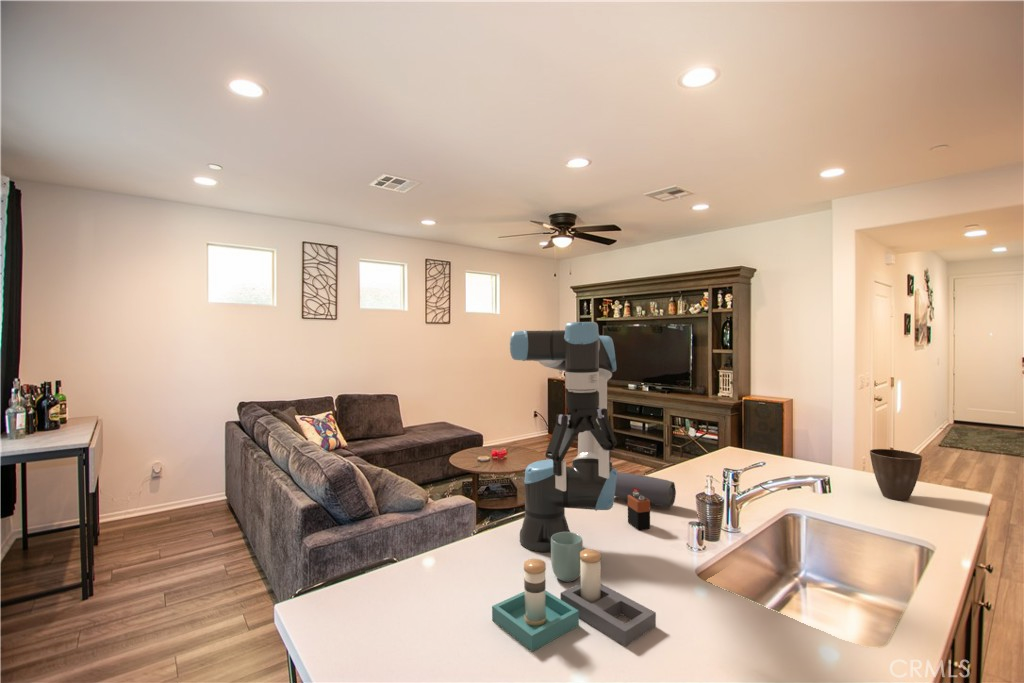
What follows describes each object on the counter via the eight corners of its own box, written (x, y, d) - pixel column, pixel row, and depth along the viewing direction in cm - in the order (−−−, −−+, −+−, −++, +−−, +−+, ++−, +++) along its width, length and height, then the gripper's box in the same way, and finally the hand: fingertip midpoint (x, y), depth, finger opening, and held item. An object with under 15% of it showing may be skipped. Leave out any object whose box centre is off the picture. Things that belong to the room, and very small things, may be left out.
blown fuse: (520, 619, 101) (519, 563, 101) (536, 611, 104) (535, 556, 104) (534, 629, 98) (533, 571, 98) (550, 620, 101) (550, 564, 100)
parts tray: (492, 620, 102) (492, 606, 102) (537, 598, 110) (537, 585, 110) (532, 651, 92) (531, 635, 92) (578, 625, 100) (578, 610, 100)
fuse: (576, 606, 107) (575, 553, 107) (590, 598, 110) (589, 547, 110) (591, 615, 104) (591, 560, 103) (605, 607, 106) (605, 554, 106)
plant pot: (859, 491, 180) (859, 449, 180) (895, 489, 182) (895, 447, 181) (895, 505, 165) (895, 459, 165) (933, 503, 167) (934, 458, 167)
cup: (562, 588, 114) (562, 547, 114) (545, 574, 121) (545, 535, 121) (588, 580, 118) (588, 540, 118) (570, 567, 125) (570, 529, 125)
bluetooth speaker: (605, 501, 173) (605, 473, 173) (615, 493, 181) (615, 467, 181) (668, 513, 160) (668, 484, 160) (676, 505, 168) (676, 477, 168)
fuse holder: (560, 606, 107) (560, 592, 107) (590, 590, 113) (590, 578, 113) (625, 646, 93) (625, 631, 93) (655, 626, 99) (655, 612, 99)
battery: (639, 521, 155) (638, 490, 154) (650, 529, 148) (650, 497, 148) (627, 522, 153) (626, 491, 153) (638, 531, 147) (638, 498, 147)
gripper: (551, 397, 97) (552, 500, 98) (631, 386, 112) (632, 476, 113) (528, 393, 103) (529, 490, 104) (607, 383, 118) (608, 468, 119)
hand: (583, 483), depth 108 cm, fingers open, 13 cm apart
